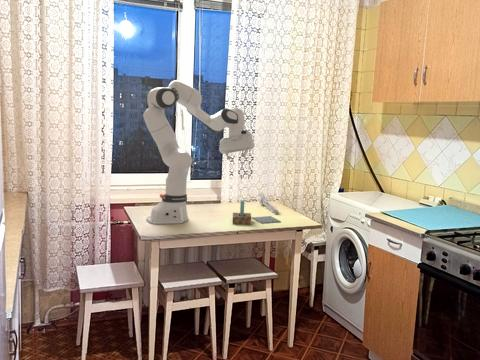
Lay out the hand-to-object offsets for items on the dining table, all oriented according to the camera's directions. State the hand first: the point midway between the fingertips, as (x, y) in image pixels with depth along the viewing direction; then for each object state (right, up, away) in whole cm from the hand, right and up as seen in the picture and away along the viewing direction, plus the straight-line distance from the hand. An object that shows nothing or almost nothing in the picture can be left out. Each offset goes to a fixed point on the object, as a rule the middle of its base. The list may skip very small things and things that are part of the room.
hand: (236, 158), depth 259 cm
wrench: (+19, -31, +30) cm, 47 cm away
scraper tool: (+3, -35, -4) cm, 36 cm away
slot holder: (+3, -35, -4) cm, 36 cm away
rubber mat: (+17, -35, +2) cm, 39 cm away
